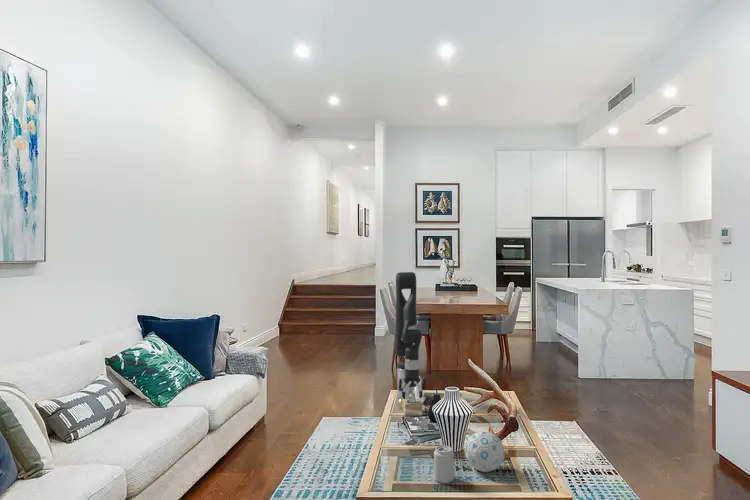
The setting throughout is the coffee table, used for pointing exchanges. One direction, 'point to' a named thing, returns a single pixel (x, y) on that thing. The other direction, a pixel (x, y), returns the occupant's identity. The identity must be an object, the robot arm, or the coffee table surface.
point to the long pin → (412, 398)
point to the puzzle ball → (484, 451)
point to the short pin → (400, 404)
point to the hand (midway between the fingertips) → (412, 398)
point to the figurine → (418, 393)
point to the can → (443, 464)
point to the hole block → (411, 407)
